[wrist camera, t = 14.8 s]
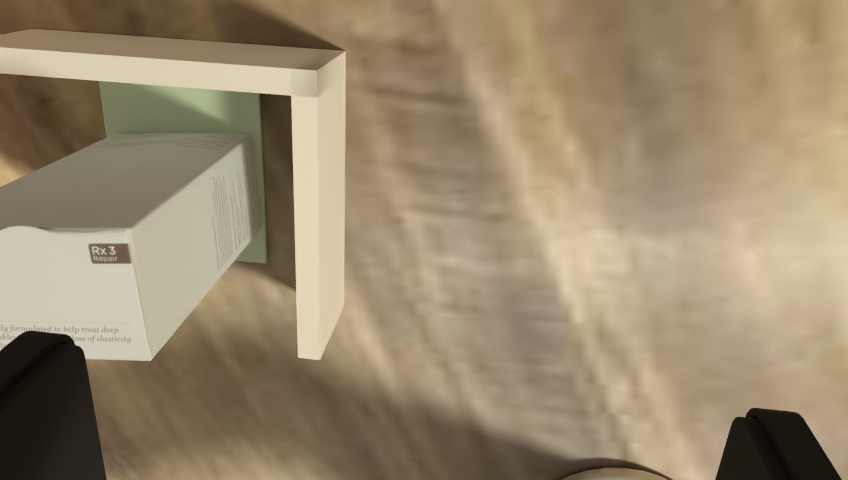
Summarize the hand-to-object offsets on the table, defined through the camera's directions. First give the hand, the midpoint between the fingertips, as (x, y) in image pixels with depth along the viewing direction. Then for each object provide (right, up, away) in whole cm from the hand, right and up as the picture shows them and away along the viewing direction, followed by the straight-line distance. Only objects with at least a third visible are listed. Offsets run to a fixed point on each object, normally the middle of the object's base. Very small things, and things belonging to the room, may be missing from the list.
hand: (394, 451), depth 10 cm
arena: (-13, +7, +29) cm, 33 cm away
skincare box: (-13, +7, +30) cm, 33 cm away
